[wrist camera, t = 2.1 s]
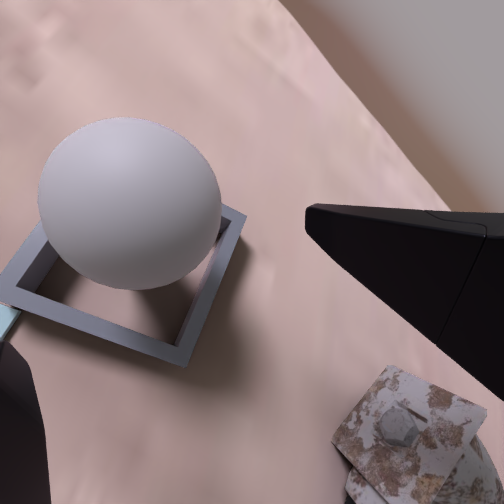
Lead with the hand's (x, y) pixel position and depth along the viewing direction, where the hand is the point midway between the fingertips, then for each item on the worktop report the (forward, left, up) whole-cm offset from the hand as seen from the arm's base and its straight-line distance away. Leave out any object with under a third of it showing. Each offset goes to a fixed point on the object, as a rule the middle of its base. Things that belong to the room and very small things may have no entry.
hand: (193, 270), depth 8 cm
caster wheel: (-5, -18, -11) cm, 22 cm away
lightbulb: (+2, +3, -10) cm, 11 cm away
